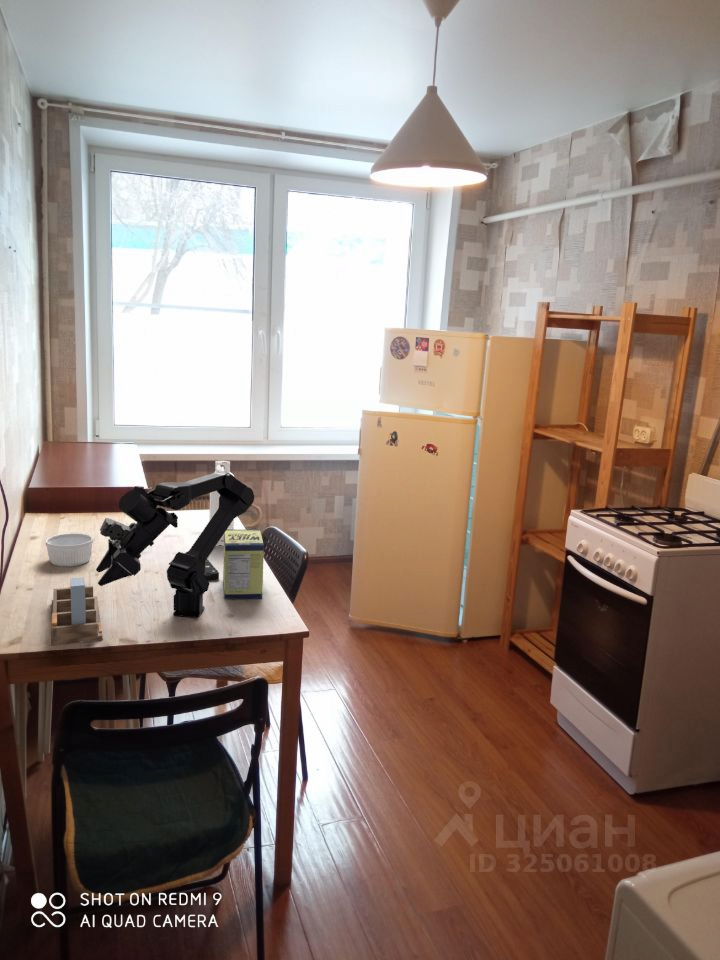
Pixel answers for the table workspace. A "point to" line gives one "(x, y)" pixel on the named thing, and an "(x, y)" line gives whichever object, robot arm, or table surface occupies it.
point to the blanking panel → (78, 601)
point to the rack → (62, 618)
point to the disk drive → (210, 572)
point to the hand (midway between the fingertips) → (98, 577)
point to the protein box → (243, 564)
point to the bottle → (215, 496)
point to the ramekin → (69, 549)
